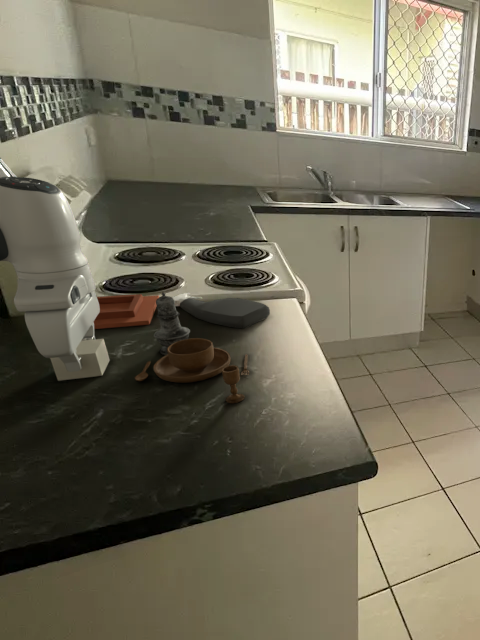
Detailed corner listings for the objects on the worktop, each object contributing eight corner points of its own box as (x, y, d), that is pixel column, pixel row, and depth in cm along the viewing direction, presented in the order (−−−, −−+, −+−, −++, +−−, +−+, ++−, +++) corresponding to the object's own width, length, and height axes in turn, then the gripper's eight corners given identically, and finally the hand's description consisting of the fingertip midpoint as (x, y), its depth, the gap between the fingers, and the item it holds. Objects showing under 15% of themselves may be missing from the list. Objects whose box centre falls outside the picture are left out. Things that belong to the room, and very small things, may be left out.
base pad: (52, 332, 95) (48, 321, 94) (74, 304, 108) (71, 294, 107) (149, 324, 102) (146, 313, 101) (159, 299, 115) (157, 289, 114)
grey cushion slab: (239, 331, 103) (152, 311, 109) (275, 315, 113) (193, 297, 118) (237, 319, 102) (149, 299, 108) (273, 303, 111) (191, 286, 117)
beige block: (57, 381, 80) (49, 357, 78) (68, 364, 85) (60, 342, 83) (102, 375, 83) (95, 352, 81) (109, 360, 88) (103, 338, 86)
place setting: (250, 350, 96) (246, 323, 94) (248, 401, 80) (243, 371, 78) (145, 360, 89) (137, 331, 86) (119, 419, 73) (109, 386, 70)
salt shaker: (162, 343, 95) (148, 287, 90) (196, 341, 97) (184, 286, 92) (153, 357, 90) (139, 298, 85) (189, 354, 92) (177, 296, 87)
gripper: (53, 264, 84) (76, 335, 90) (8, 305, 68) (40, 388, 74) (98, 263, 87) (117, 331, 93) (65, 302, 71) (91, 381, 77)
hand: (83, 357), depth 83 cm, fingers open, 8 cm apart
